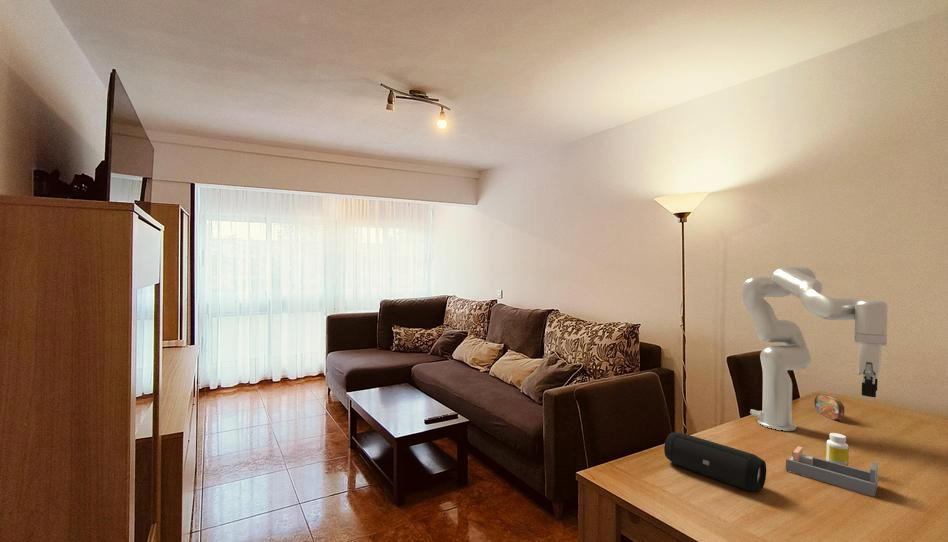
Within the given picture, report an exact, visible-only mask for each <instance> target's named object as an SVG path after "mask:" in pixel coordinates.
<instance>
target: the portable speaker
mask: <svg viewBox="0 0 948 542" xmlns="http://www.w3.org/2000/svg"><path fill="white" fill-rule="evenodd" d="M663 450H664V456H665V458H666V459H667V460H669V461H670V462H671V463H672V464H674V465H676V466H678V465H679V467H681V468H684V469H687V470H689V469H690V471H692V470H693V471H692V472H695V473H698V474H701V475H703V474H704V476H706V475H707V477H709V476H710V478H713V479H715V480H718V481H720V480H721V482H723V481H724V483H727V484H728V485H732V486H734V485H735V487H737V486H738V488H741V489H744V490H746V491H749V492H750V491H752V492H753V491H754V492H760V491H762V490H763V488H764V487H765V483H766V478H767V463H766V461H765V460H764V459H762V458H761V457H759V456H758V455H756V454H754V453H751V452H747V451H744V450H741V449H739V448H734V447H731V446H728V445H724V444H721V443H718V442H714V441H711V440H707V439H704V438H700V437H697V436H694V435H690V434H688V433H684V432H670V433H669V434H668V435H667V437H666V439H665V441H664V447H663Z"/></svg>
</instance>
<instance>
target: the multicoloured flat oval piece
mask: <svg viewBox="0 0 948 542" xmlns="http://www.w3.org/2000/svg"><path fill="white" fill-rule="evenodd" d="M814 408H815V410H816V412H817V413H819V414H820V415H823V416H824V417H827V418H828V419H830V420H833V421H834V420H838V421H840V420H842V419H843V418H845V417H844V416H845V406H844V403H843V402H842V401H841V400H839V399H837V398H834V397H832V396H829V395H827V394H821V393H819V394H817V395H815V398H814Z"/></svg>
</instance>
